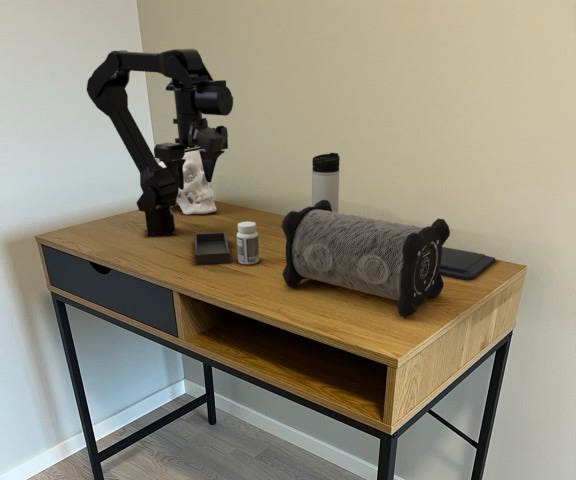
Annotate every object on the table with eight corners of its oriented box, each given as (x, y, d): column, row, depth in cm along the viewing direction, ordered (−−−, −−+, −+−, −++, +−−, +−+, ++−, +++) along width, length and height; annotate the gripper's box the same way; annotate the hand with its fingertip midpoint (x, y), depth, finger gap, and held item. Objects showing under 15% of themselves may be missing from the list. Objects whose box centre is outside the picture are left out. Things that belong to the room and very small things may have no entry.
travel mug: (343, 241, 144) (346, 154, 134) (325, 247, 140) (327, 158, 130) (323, 236, 148) (325, 151, 138) (306, 242, 144) (306, 155, 134)
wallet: (383, 254, 129) (415, 237, 140) (382, 262, 130) (414, 245, 141) (470, 272, 119) (498, 253, 129) (468, 281, 120) (496, 261, 130)
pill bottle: (260, 258, 134) (259, 221, 130) (257, 265, 130) (256, 227, 125) (240, 257, 134) (238, 220, 130) (236, 264, 130) (233, 226, 126)
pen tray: (230, 262, 131) (229, 252, 130) (196, 264, 130) (195, 254, 129) (226, 241, 145) (225, 232, 144) (195, 243, 144) (194, 233, 143)
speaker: (408, 323, 103) (417, 238, 95) (279, 288, 118) (277, 212, 110) (444, 296, 113) (455, 217, 106) (321, 267, 128) (322, 196, 121)
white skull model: (201, 213, 160) (172, 144, 156) (161, 236, 174) (134, 173, 170) (235, 203, 169) (209, 138, 165) (195, 226, 183) (170, 166, 180)
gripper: (184, 120, 121) (192, 198, 129) (243, 111, 134) (247, 182, 142) (148, 117, 127) (157, 191, 135) (207, 108, 140) (213, 177, 148)
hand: (195, 185), depth 140 cm, fingers open, 9 cm apart
